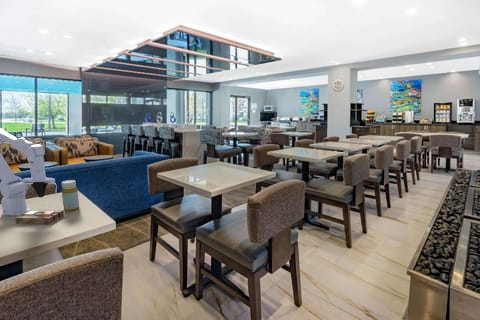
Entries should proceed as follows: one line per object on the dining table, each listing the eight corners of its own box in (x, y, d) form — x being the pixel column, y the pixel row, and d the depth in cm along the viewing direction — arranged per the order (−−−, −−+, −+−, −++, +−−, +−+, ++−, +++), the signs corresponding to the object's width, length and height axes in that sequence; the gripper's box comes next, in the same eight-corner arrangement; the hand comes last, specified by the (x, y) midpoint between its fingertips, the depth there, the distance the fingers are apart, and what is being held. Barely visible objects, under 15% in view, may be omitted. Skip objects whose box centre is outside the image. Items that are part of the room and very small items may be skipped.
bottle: (72, 212, 143) (69, 183, 140) (60, 211, 144) (57, 183, 141) (82, 207, 150) (79, 180, 147) (71, 206, 151) (68, 179, 148)
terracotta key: (41, 220, 131) (40, 214, 131) (47, 216, 135) (47, 210, 135) (49, 220, 131) (49, 214, 130) (55, 216, 135) (55, 210, 134)
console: (16, 223, 129) (15, 217, 128) (32, 215, 139) (32, 209, 138) (49, 224, 128) (48, 218, 128) (64, 216, 138) (63, 210, 137)
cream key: (25, 219, 132) (24, 213, 131) (31, 216, 136) (31, 210, 135) (33, 219, 131) (32, 213, 131) (39, 216, 135) (39, 210, 135)
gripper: (16, 171, 131) (20, 199, 134) (46, 172, 131) (50, 199, 133) (28, 168, 138) (32, 194, 141) (56, 168, 138) (60, 195, 140)
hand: (41, 196), depth 138 cm, fingers closed
